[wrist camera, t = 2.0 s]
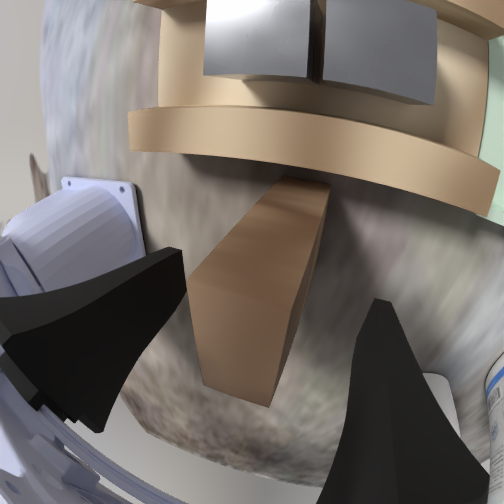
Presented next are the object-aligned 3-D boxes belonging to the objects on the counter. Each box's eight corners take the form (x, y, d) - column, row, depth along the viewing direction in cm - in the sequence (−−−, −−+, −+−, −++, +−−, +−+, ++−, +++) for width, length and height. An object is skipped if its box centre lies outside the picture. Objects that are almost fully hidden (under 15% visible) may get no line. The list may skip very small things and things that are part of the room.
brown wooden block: (274, 257, 16) (203, 385, 9) (282, 175, 13) (186, 280, 6) (315, 267, 15) (269, 407, 8) (331, 184, 13) (290, 310, 6)
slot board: (169, 138, 14) (130, 151, 12) (175, -14, 9) (136, -28, 6) (460, 190, 10) (486, 217, 7) (476, 13, 5) (504, -4, 2)
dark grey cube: (330, 87, 9) (322, 79, 7) (334, 16, 8) (326, -14, 5) (410, 104, 9) (433, 105, 6) (414, 33, 7) (436, 10, 4)
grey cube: (241, 80, 10) (203, 75, 8) (244, 14, 9) (208, -9, 6) (319, 85, 10) (306, 77, 7) (322, 15, 8) (310, -16, 5)
